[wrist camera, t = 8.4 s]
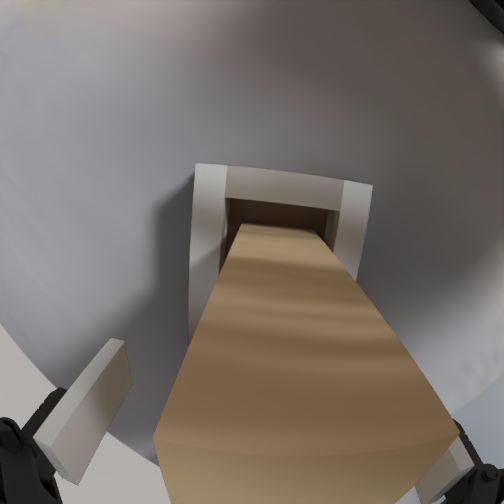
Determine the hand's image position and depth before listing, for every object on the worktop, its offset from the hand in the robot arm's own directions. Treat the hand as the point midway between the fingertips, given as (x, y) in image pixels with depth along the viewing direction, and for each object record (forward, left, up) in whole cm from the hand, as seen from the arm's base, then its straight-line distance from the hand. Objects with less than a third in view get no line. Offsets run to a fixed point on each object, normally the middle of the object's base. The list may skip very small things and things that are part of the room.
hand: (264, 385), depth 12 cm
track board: (0, 0, -7) cm, 7 cm away
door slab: (0, 0, -6) cm, 6 cm away
